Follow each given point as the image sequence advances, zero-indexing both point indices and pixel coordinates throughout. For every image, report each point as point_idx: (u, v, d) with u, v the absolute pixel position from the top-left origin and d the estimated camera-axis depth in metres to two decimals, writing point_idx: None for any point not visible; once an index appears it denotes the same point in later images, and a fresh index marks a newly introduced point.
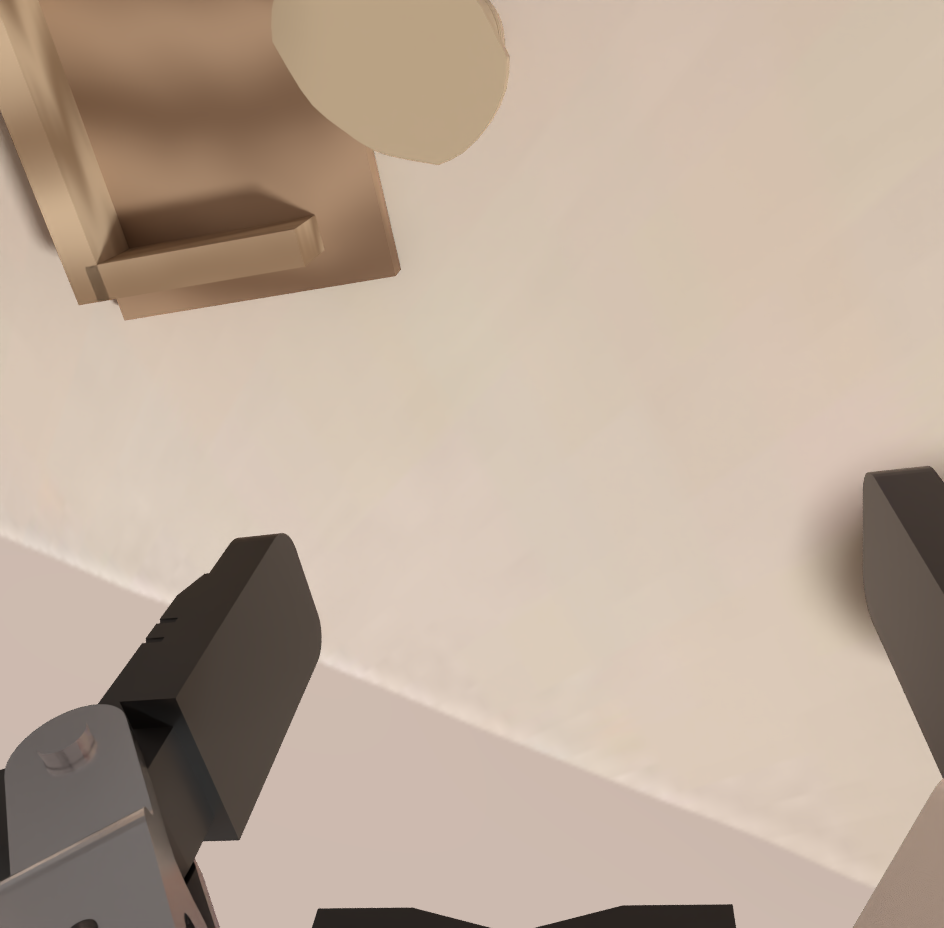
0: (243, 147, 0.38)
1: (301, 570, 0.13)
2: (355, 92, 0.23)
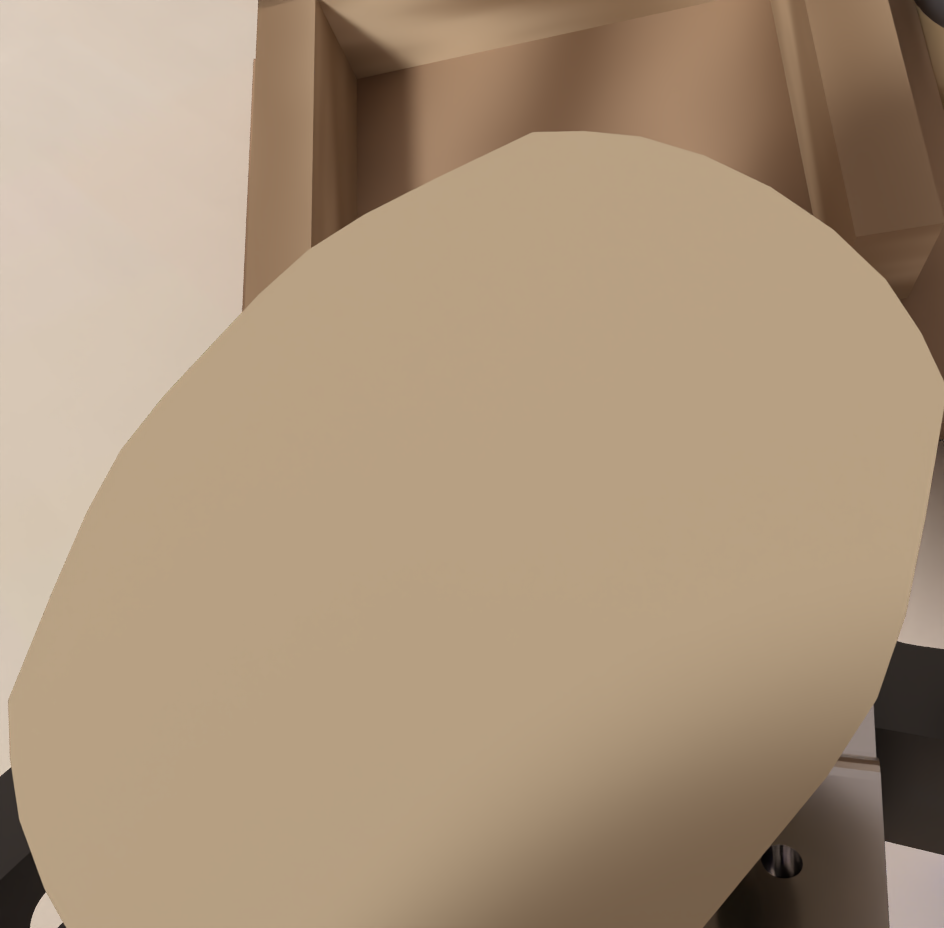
0: None
1: None
2: (319, 406, 0.06)
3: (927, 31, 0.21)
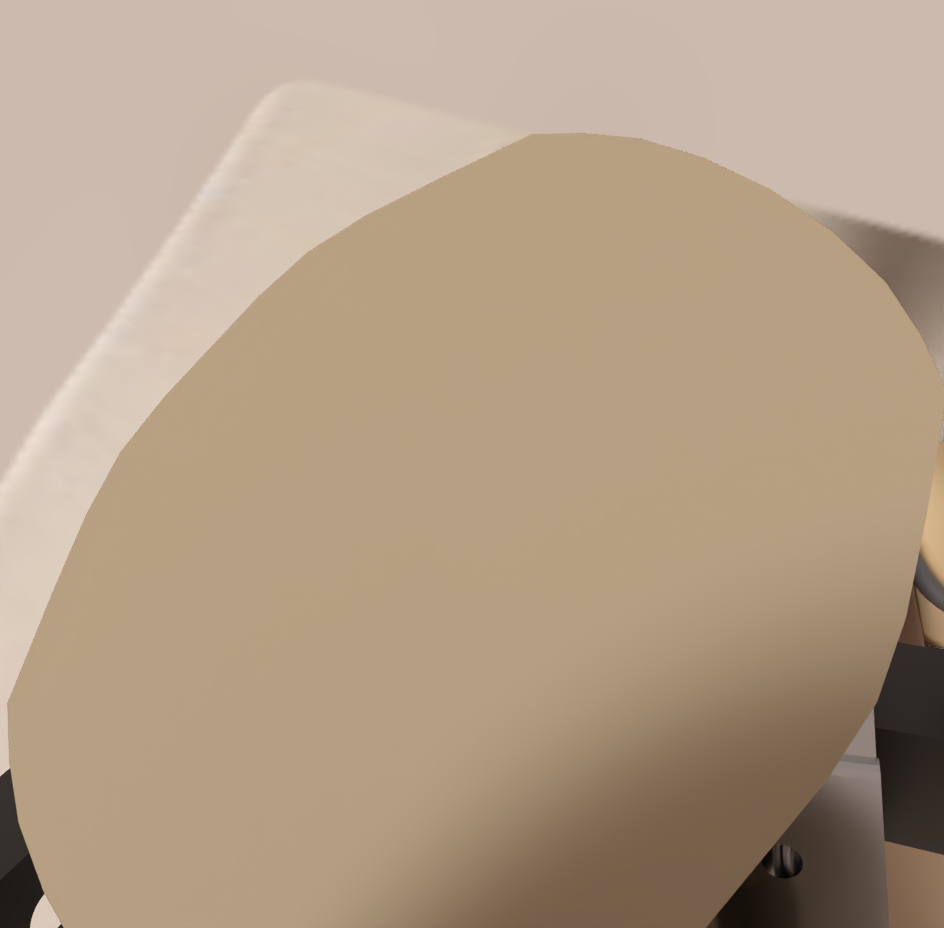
0: None
1: None
2: (319, 409, 0.06)
3: None
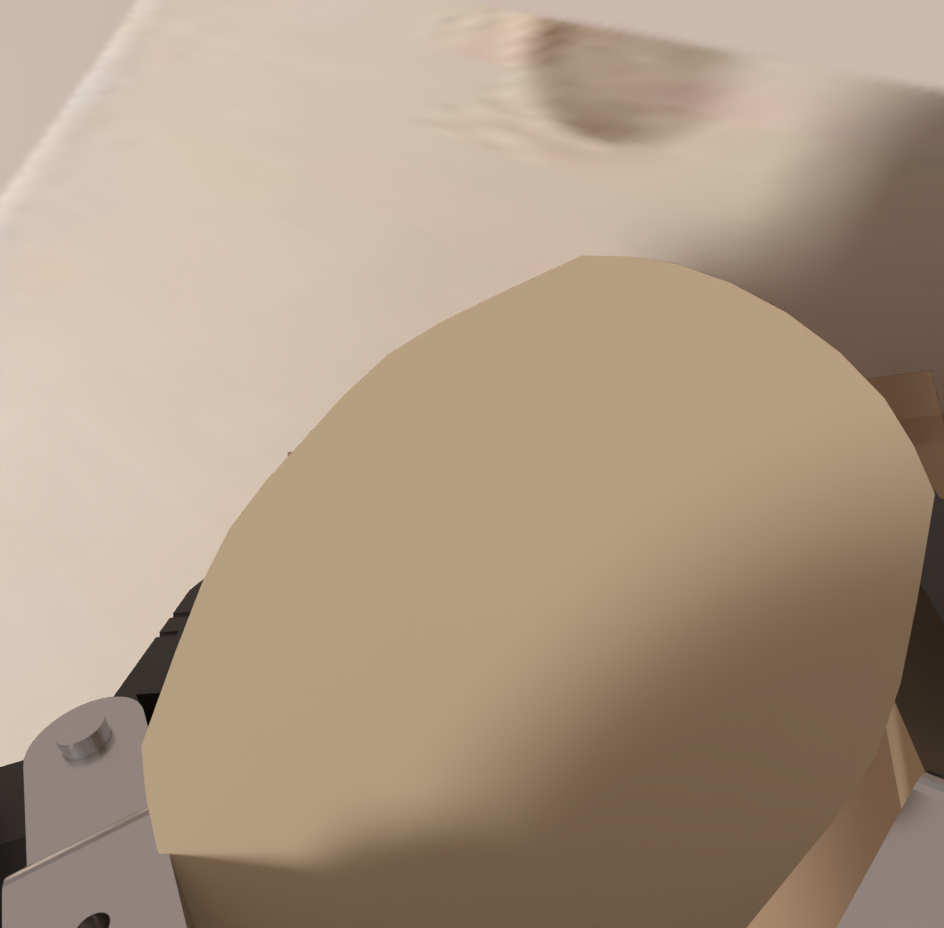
0: None
1: None
2: (403, 495, 0.07)
3: None
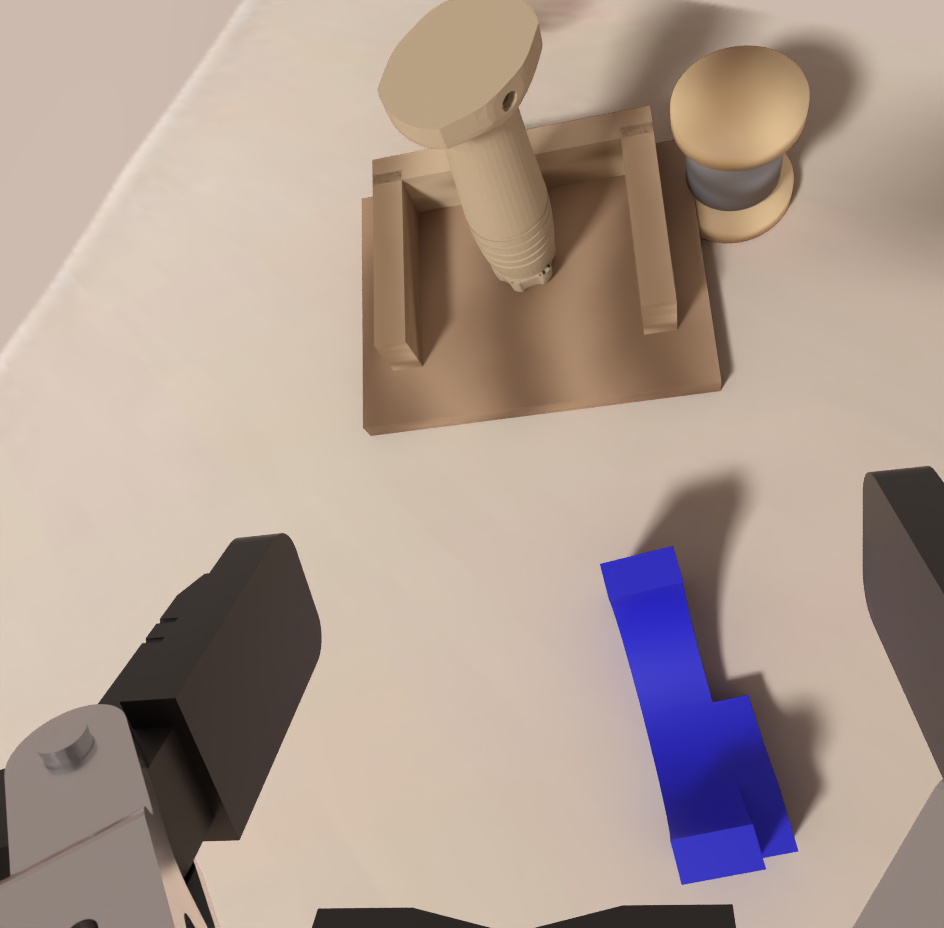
0: (483, 315, 0.45)
1: (301, 570, 0.13)
2: (433, 36, 0.32)
3: (697, 200, 0.44)
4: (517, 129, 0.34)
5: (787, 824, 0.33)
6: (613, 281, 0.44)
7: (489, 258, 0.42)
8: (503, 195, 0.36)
